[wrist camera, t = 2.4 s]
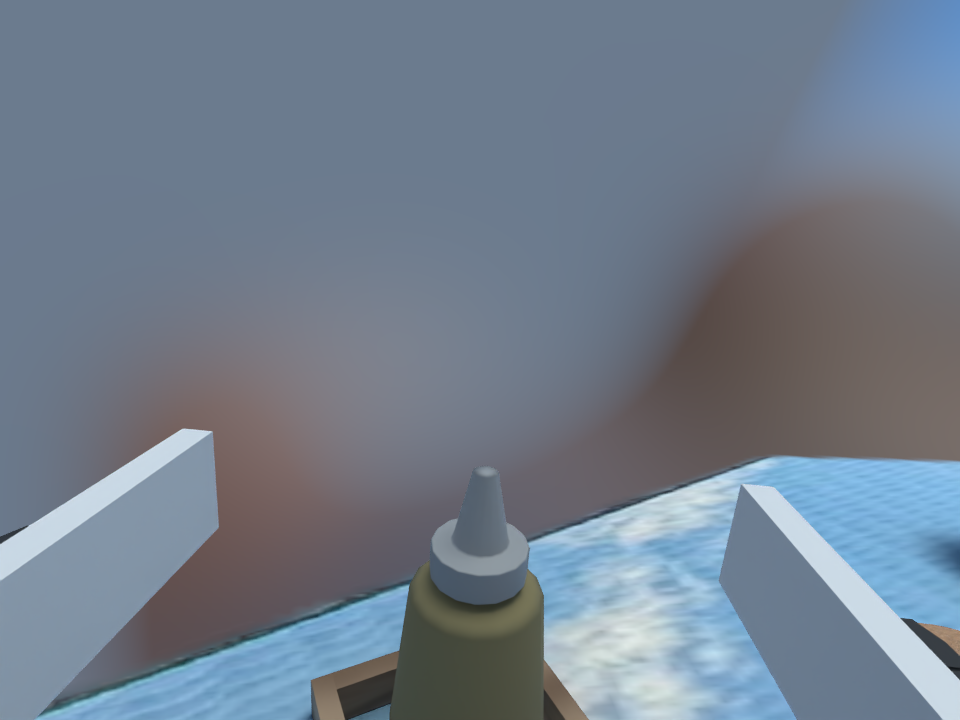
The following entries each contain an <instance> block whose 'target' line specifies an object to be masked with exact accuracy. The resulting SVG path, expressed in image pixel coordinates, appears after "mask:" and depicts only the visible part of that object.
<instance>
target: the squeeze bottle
mask: <svg viewBox="0 0 960 720" xmlns="http://www.w3.org/2000/svg"><path fill="white" fill-rule="evenodd" d="M529 549H530V548H529V545H528V543H527V540H526V538H525V536H524V535H523V534H522V533H521V532H519V531H518V530H517V529H516V528H515V527H514V526H512V525H510V524H508V523H506V519H505V513H504V506H503V499H502V492H501V485H500V478H499V473H498V471H497V470H496V469H495V468H492V467H488V466H480V467H476V468H475V469H474V470H473V472H472V476H471V479H470V482H469V485H468V489H467V492H466V495H465V498H464V501H463V504H462V508H461V511H460V514H459V517H458V519H454V520H450V521H449V522H447V523H446V524H444V525H443V526H441V527H440V528H438V529H437V530H436V532H435V534H434V535H433V537H432V539H431V548H430V560H429V561H428V562H426V563H425V564H424V565H422V566H421V567H420V568H418V570H417V572H416V574H415V576H414V577H413V579H412V581H411V583H410V586H409V592H408V598H407V605H406V611H405V618H404V624H403V631H402V637H401V643H400V650H399V656H398V663H397V669H396V675H395V682H394V688H393V695H392V701H391V708H390V720H543V701H544V595H543V592H542V590H541V587H540V585H539V582H538V580H537V578H536V577H535V576H534V575H533V574H532V573H531V572H530V571H529V570H528V569H527V568H528V559H529Z"/></svg>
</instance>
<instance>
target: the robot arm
mask: <svg viewBox="0 0 960 720" xmlns="http://www.w3.org/2000/svg"><path fill="white" fill-rule="evenodd" d="M218 527H219V525H218V509H217V493H216V478H215V462H214V447H213V432H212V431H201V430H192V429H182V430H180V431H179V432H177V433H175V434H174V435H172V436H171V437H169V438H167V439H166V440H164V441H163V442H161V443H159V444H158V445H156V446H155V447H153V448H152V449H150V450H149V451H147V452H145V453H144V454H142V455H141V456H139V457H137V458H136V459H134V460H133V461H131V462H130V463H128V464H126V465H125V466H123V467H122V468H120V469H118V470H117V471H115V472H114V473H112V474H110V475H109V476H108V477H106V478H104V479H103V480H101V481H100V482H98V483H96V484H95V485H93V486H92V487H90V488H89V489H87V490H85V491H84V492H82V493H81V494H79V495H77V496H76V497H74V498H73V499H71V500H70V501H68V502H66V503H65V504H63V505H62V506H60V507H58V508H57V509H55V510H54V511H52V512H50V513H49V514H47V515H46V516H44V517H43V518H41V519H39V520H38V521H36V522H35V523H33V524H31V525H30V526H25V527H23V528H20V529H18V530H16V531H13V532H11V533H8V534H6V535H3V536H1V537H0V720H34V719H35V718H36V717H37V716H38V715H39V714H40V713H41V712H42V711H43V710H44V709H45V708H46V707H47V706H48V705H49V704H50V703H51V702H52V701H53V700H54V698H55V697H56V696H57V695H58V694H59V693H60V692H61V691H62V690H63V689H64V688H65V687H66V686H67V685H68V684H69V683H70V682H71V681H72V680H73V679H74V678H75V677H76V676H77V674H78V673H79V672H80V671H81V670H82V669H83V668H84V667H85V666H86V665H87V664H88V663H89V662H90V661H91V660H92V659H93V658H94V657H95V656H96V655H97V653H99V652H100V651H101V649H102V648H103V647H104V646H105V645H106V644H107V643H108V642H109V641H110V640H111V639H112V638H113V637H114V636H115V635H116V634H117V633H118V632H119V631H120V630H121V629H122V628H123V627H124V626H125V624H126V623H127V622H128V621H129V620H130V619H131V618H132V617H133V616H134V615H135V614H136V613H137V612H138V611H139V610H140V609H141V608H142V607H143V606H144V605H145V604H146V603H147V601H148V600H149V599H150V598H151V597H152V596H153V595H154V594H155V593H156V592H157V591H158V590H159V589H160V588H161V587H162V586H163V585H164V584H165V583H166V581H167V580H169V578H170V577H171V576H172V575H173V574H174V573H175V572H176V571H177V570H178V569H179V568H180V567H181V566H182V565H183V564H184V563H185V562H186V561H187V560H188V559H189V558H190V557H191V556H192V555H193V554H194V552H195V551H196V550H197V549H198V548H199V547H200V546H201V545H202V544H203V543H204V542H205V541H206V540H207V539H208V538H209V537H210V536H211V535H212V534H213V532H215V531H216V530H217V529H218ZM719 582H720V584H721V586H722V587H723V589H724V591H725V593H726V595H727V596H728V598H729V600H730V602H731V603H732V605H733V607H734V609H735V610H736V612H737V614H738V616H739V618H740V619H741V621H742V623H743V625H744V626H745V628H746V630H747V632H748V634H749V635H750V637H751V639H752V641H753V642H754V644H755V646H756V648H757V650H758V651H759V653H760V655H761V657H762V658H763V660H764V662H765V664H766V665H767V667H768V669H769V671H770V673H771V674H772V676H773V678H774V680H775V681H776V683H777V685H778V687H779V689H780V690H781V692H782V694H783V696H784V697H785V699H786V701H787V703H788V704H789V706H790V708H791V710H792V712H793V713H794V715H795V717H796V719H797V720H960V656H959V655H958V654H957V653H956V652H955V651H954V650H953V649H952V648H951V647H950V646H949V645H948V644H947V643H946V642H945V641H943V640H942V639H940V638H939V637H937V636H936V635H934V634H933V633H931V632H930V631H929V630H927V629H926V628H924V627H923V626H921V625H920V624H918V623H917V622H915V621H914V620H912V619H905V618H899V617H898V615H897V614H896V613H895V612H894V611H893V610H892V609H891V608H890V607H889V606H888V605H887V604H886V603H885V602H884V601H883V600H882V599H881V598H880V597H879V596H878V595H877V594H876V593H875V592H874V591H873V590H872V589H871V588H870V586H869V585H868V584H867V583H866V582H865V581H864V580H863V579H862V578H861V577H860V576H859V575H858V574H857V573H856V572H855V571H854V570H853V569H852V568H851V567H850V566H849V565H848V564H847V563H846V562H845V561H844V560H843V559H842V557H841V556H840V555H839V554H838V553H837V552H836V551H835V550H834V549H833V548H832V547H831V546H830V545H829V544H828V543H827V542H826V541H825V540H824V539H823V538H822V537H821V536H820V535H819V534H818V533H817V532H816V531H815V529H814V528H813V527H812V526H811V525H810V524H809V523H808V522H807V521H806V520H805V519H804V518H803V517H802V516H801V515H800V514H799V513H798V512H797V511H796V510H795V509H794V508H793V507H792V506H791V505H790V504H789V503H788V502H787V500H786V499H785V498H784V497H783V496H782V495H781V494H780V493H779V492H778V491H777V490H776V489H775V488H774V487H768V486H758V485H748V484H741V487H740V491H739V496H738V500H737V504H736V508H735V513H734V517H733V521H732V526H731V530H730V534H729V538H728V543H727V547H726V551H725V556H724V560H723V564H722V568H721V573H720V577H719Z"/></svg>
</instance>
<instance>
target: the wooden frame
mask: <svg viewBox="0 0 960 720" xmlns="http://www.w3.org/2000/svg"><path fill="white" fill-rule="evenodd" d="M398 656H399V651H397V652H394V653H391V654H388V655H385V656H382V657H379V658H376V659H373V660H370V661H367V662H364V663H361V664H358V665H355V666H352V667H349V668H346V669H343V670H340V671H337V672H334V673H331V674H328V675H325V676H322V677H319V678H316V679H313V680H311V703H312V717H313V720H347V719H350V718H352V717H355V716H358V715H360V714H363V713H365V712H368V711H371V710H373V709H376V708H379V707H381V706H384V705H386V704H389V703H391V701H392V695H393V688H394V682H395V675H396V669H397V663H398ZM543 720H589V719H588V718H587V717H586V715H585V714H584V713H583V711H582V710H581V709H580V707H579V706H578V705H577V703H576V702H575V701H574V699H573V698H572V696H571V695H570V694H569V692H568V691H567V690H566V688H565V687H564V686H563V684H562V683H561V682H560V680H559V679H558V678H557V676H556V675H555V674H554V672H553V671H552V670H551V668H550V667H549V666H548V664H547V663H546V662H545V660H544V701H543Z"/></svg>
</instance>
